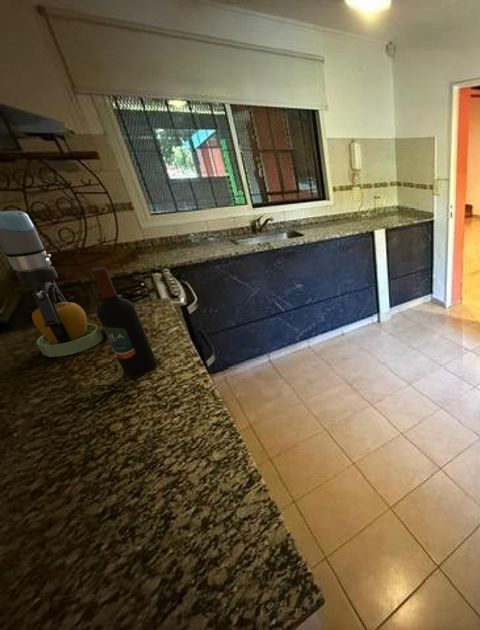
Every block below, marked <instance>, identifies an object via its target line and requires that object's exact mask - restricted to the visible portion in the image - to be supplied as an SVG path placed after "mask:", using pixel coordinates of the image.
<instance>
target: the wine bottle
mask: <svg viewBox="0 0 480 630" xmlns="http://www.w3.org/2000/svg"><path fill="white" fill-rule="evenodd" d="M90 272H91V274H92V277H93V278H94V280H95V282H96V285H97V287H98V289H99V292H100V294H101V296H102V302H101V303H100V304H99V305H98V306H97V309H96V316H97V315H98V317H99V319H100V322H101V324H102V325H101V324H100V325H101V326H102V328H103V330H104V332H105V335H106V336H107V339H108V341H109V343H110V345H111V347H112V350H113V352H114V354H115V356H116V359H117V360H118V363H119V364H120V366H121V369H122V371H123V373H124V375H125V376H126V377H139V376H143V375H146V374H148V373H150V372H152V371H153V370H155V369H156V368H157V367H158V365H159V363H158V361H157V358H156V356H155V353H154V351H153V348H152V346H151V343H150V341H149V337H148V336H147V334H146V331H145V329H144V326H143V324H142V321H141V319H140V316H139V314H138V311H137V309H136V307H135V306H136V305H134V303H133V302H132V301H130V300H128V299H126V298H123V297H120V296H119V295H118V294H117V291H116V289H115V287H114V283H113V282H112V280H111V277H110V275H109V271H108V269H107V268H106V267H105V266H99V267H94V268H91V269H90ZM100 322H99V323H100Z"/></svg>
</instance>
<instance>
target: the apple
mask: <svg viewBox="0 0 480 630" xmlns="http://www.w3.org/2000/svg"><path fill="white" fill-rule="evenodd" d="M55 305H56V308H57V311H58V315H59V318H60V321H61V323H62V322H63V324H64V326H65V328H66V330H67V332H68V334H69V336H70V338H71V340H72V341H74V340H77V339H80V338H82V337H85V335H86V330H87V324H88V318H87V315H86V312H85V310H84V309H83V308H82V306H80V305H79V304H77V303H75V302H70V301H67V302H60V303H55ZM31 318H32V322H33V324H34V326H35V327H36V328H37V329H38V330H39V331H40V332H41V334H42V336H43V335H44V336H45V337H46V338H47V339H49V340H50V341H51V342H53V343H54V344H59V343H58V341H57V339H56V337H55V335H54V333H53V332H52V330H51V328H50V326H49V327H45V322H44V319H43V317H42V314H41V312H40V309H39V307H37V308H36V309H35V310H34V311H33V312H32V313H31ZM51 322H52V321H51Z"/></svg>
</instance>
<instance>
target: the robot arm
mask: <svg viewBox="0 0 480 630" xmlns="http://www.w3.org/2000/svg"><path fill="white" fill-rule="evenodd" d="M0 249H2V251H3V252H4V254H5V255H6V258H7V260H8V261H9V264H10V266H11V267H12V269H13V270H14V271H16V272H15V274H16V276H17V278H18V280H19V281H20V284H22V285H25V286H33V287H34V289H33V292H32V296H33V298H34V300H35V302H36V304H37V306H38V307H37V308H39V309H40V312H41V314H42V317H43V319H44V322H45V327H49V326H50V328H51V330H52V332H53V333H54V335H55V337H56V339H57V341H58V343H59V344H61V343H67V342H70V341H72V340H71V338H70V336H69V334H68V332H67V330H66V328H65V326H64V324H63V322H62V323H61V321H60V318H59V315H58V311H57V308H56V305H55V303H60V302H68V301H67V299H66V298H65V296H64V295H63V293H62V291H61V290H60V289H59V287H58V285H57V282H56V280H57V279H58V278H59V275H58V273H57V271H56V269H55V267H54V266H53V265H52V261H51V259H50V258H51V257H52V255H51V254H49V253H48V254H47V251H46V249H45V247H44V245H43V243H42V241H41V239H40V236H39V234H38V232H37V230H36V227H35V225H34V223H33V222H32V220H31V218H30V217H29V215H28V214H27V212H24V211H22V210H4V211H0ZM51 321H52V322H51Z"/></svg>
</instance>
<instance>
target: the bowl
mask: <svg viewBox="0 0 480 630" xmlns="http://www.w3.org/2000/svg"><path fill="white" fill-rule="evenodd" d="M103 339H104V336H103V334H102V331H101V329H100V327H99V325H98V324H95V323H87V330H86V335H85V337H82V338H80V339H77V340H74V341H70V342H67V343H61V344H54V343H53V342H51V341H50V340H49V339H47V338H46V337H45V336H44V335H43V334H42V336H40V337H39V338H38V339H37V340H36V345H37V347H38V348H39V350H40V352H41V354H42V355H43V356H45V357H49V358H59V357H64V356H65V357H66V356H70V355H71V356H72V355H75V354H78V353H81V352H83V351H86V350H88V349H91V348H93V347H95V346H96V345H98V344H100V343H101V342H102V341H103Z"/></svg>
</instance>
